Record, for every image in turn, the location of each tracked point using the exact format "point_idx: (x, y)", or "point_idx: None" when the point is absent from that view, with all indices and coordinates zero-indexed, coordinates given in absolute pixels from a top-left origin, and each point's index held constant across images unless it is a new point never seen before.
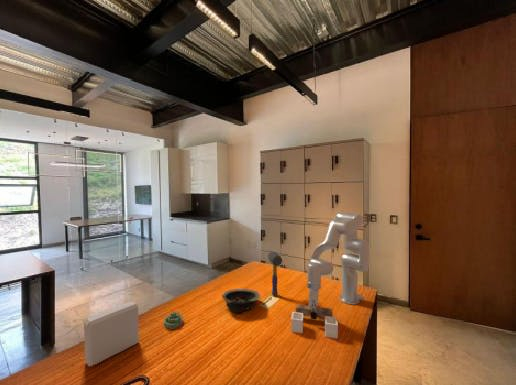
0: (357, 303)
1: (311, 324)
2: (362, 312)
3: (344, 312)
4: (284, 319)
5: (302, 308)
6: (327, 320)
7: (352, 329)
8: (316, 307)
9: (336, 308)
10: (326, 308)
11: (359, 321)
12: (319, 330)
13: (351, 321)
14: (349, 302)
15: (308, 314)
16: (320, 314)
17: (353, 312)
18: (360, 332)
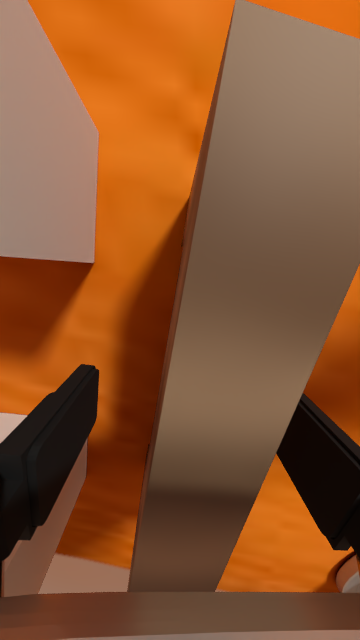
0: (339, 590)
1: (124, 340)
2: (261, 586)
3: (270, 533)
4: (186, 14)
5: (190, 264)
6: None
7: (110, 538)
8: (229, 520)
9: None
10: None
11: None
12: (54, 385)
13: None
14: (354, 578)
15: (166, 349)
16: (145, 481)
17: (265, 562)
18: (91, 558)
